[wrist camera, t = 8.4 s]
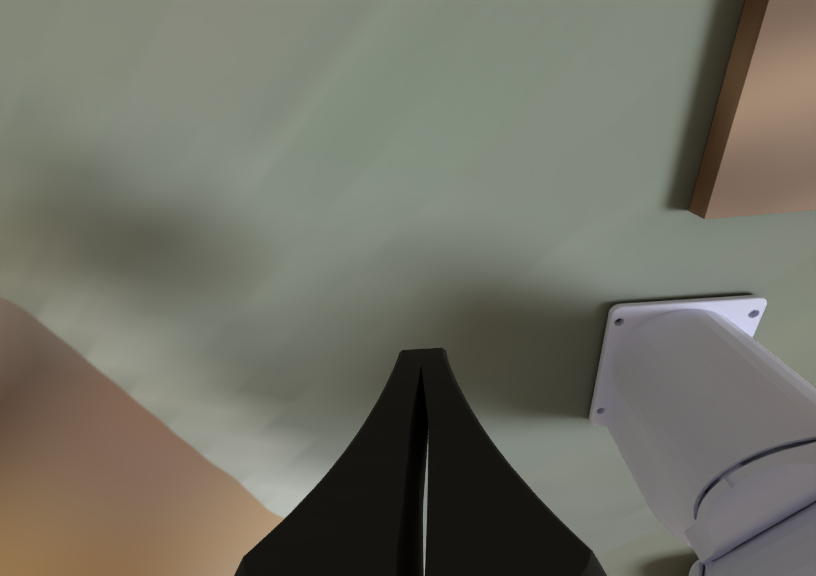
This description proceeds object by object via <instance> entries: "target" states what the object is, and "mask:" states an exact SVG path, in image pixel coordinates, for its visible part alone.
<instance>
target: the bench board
mask: <svg viewBox="0 0 816 576" xmlns="http://www.w3.org/2000/svg"><path fill="white" fill-rule="evenodd" d="M807 210H816V0H745V4H744V7H743V11H742V15H741V18H740V22H739V26H738V29H737V33H736V37H735V41H734V44H733V48H732V52H731V55H730V59H729V63H728V66H727V70H726V74H725V77H724V81H723V85H722V89H721V92H720V96H719V100H718V103H717V107H716V111H715V114H714V118H713V122H712V126H711V129H710V133H709V137H708V140H707V144H706V148H705V151H704V155H703V159H702V162H701V166H700V170H699V174H698V177H697V181H696V185H695V188H694V192H693V196H692V199H691V203H690V207H689V210H688V211H690V212H692V213H694V214H696V215H698V216H700V217H702V218H703V219H711V218H723V217H735V216H747V215H759V214H771V213H783V212H795V211H807Z"/></svg>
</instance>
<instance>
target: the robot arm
mask: <svg viewBox="0 0 816 576" xmlns="http://www.w3.org/2000/svg"><path fill="white" fill-rule="evenodd" d="M766 304H767V301H766V299H764V298H763V297H761V296H759V295H745V296H730V297H715V298H700V299H685V300H670V301H654V302H639V303H624V304H617V305H614V306H613V307H612V308H611V309H610V311H609V314H608V320H607V325H606V330H605V335H604V341H603V346H602V351H601V356H600V362H599V367H598V372H597V378H596V383H595V388H594V393H593V399H592V404H591V409H590V415H589V421H590V423H591V424H592V425H593V426H607V427H608V429H609V431H610V433H611V435H612V437H613V439H614V441H615V443H616V444H617V446H618V448H619V450H620V452H621V454H622V456H623V458H624V460H625V462H626V464H627V466H628V467H629V469H630V471H631V473H632V475H633V477H634V479H635V481H636V483H637V485H638V487H639V489H640V490H641V492H642V494H643V496H644V498H645V500H646V502H647V504H648V506H649V507H650V509H651V510H652V512H653V513H654V515H655V516H656V517H657V519H658V520H659V521H660V522H661V523H662V524H663V525H664V526H665V527H666V528H667V529H668V530H669V531H670V532H671V533H672V534H673V535H675V536H676V537H677V538H678V539H680V540H681V541H682V542H684V543H685V544H686V545H688V546H689V547H691V548H693V550H694V551H695V553H696V555H697V557H698V558H699V560H697V561H696V562H695V563H694V564H693V565H692V567H691V569H690V572H689V576H816V388H815V387H813V386H812V385H811V384H810V383H808V382H807V381H806V380H805V379H803V378H802V377H801V376H800V375H798V374H797V373H796V372H795V371H793V370H792V369H791V368H790V367H788V366H787V365H786V364H785V363H783V362H782V361H781V360H780V359H778V358H777V357H776V356H775V355H773V354H772V353H771V352H770V351H768V350H767V349H766V348H765V347H763V346H762V345H761V344H760V343H758V342H757V341H756V340H755V339H753V338H752V337H753V335H754V333H755V330H756V328H757V326H758V323H759V321H760V319H761V316H762V314H763V312H764V309H765V307H766ZM751 311H752V312H751ZM750 312H751V313H750ZM620 318H621V319H620ZM617 319H620V320H619V321H618V322H615V321H616V320H617ZM599 408H600V409H599ZM428 430H429V433H428ZM427 442H428V501H427V534H426V561H425V576H607V575H606V573H605V571H604V570H603V568H602V566H601V565H600V563H599V561H598V559H597V558H596V556H595V554H594V553H593V551H592V550H591V549H590V548H589V547H588V546H587V545H586V544H584V543H583V542H582V541H581V540H580V539H579V538H578V537H577V536H576V535H575V534H574V533H573V532H572V531H571V530H570V529H569V528H568V527H567V526H566V525H565V524H564V523H563V522H562V521H561V520H560V519H559V518H558V517H557V516H556V515H555V514H554V513H553V512H552V511H551V510H550V509H549V508H548V507H547V506H546V505H545V504H544V503H543V502H542V501H541V500H540V499H539V498H538V497H537V496H536V494H535V493H534V492H533V491H532V490H531V489H530V487H529V486H528V485H527V484H526V483H525V482H524V481H523V479H522V478H521V477H520V476H519V475H518V474H517V472H516V471H515V470H514V469H513V468H512V467H511V465H510V464H509V463H508V462H507V460H506V459H505V458H504V456H503V455H502V454H501V453H500V451H499V450H498V449H497V447H496V446H495V445H494V443H493V442H492V440H491V439H490V438H489V436H488V435H487V433H486V432H485V430H484V429H483V427H482V426H481V424H480V423H479V421H478V419H477V418H476V416H475V415H474V413H473V411H472V410H471V408H470V406H469V404H468V403H467V401H466V399H465V397H464V395H463V393H462V391H461V390H460V388H459V386H458V384H457V381H456V379H455V377H454V375H453V372H452V370H451V367H450V365H449V362H448V358H447V354H446V350H444V349H443V348H432V349H415V350H402V351H401V352H400V353H399V356H398V359H397V361H396V364H395V366H394V369H393V371H392V373H391V375H390V378H389V380H388V382H387V384H386V386H385V388H384V390H383V392H382V393H381V395H380V397H379V399H378V401H377V403H376V405H375V406H374V408H373V409H372V411H371V413H370V414H369V416H368V418H367V419H366V421H365V423H364V424H363V426H362V427H361V429H360V430H359V432H358V433H357V435H356V436H355V438H354V439H353V441H352V442H351V443H350V445H349V446H348V447H347V449H346V450H345V451H344V453H343V454H342V455H341V457H340V458H339V459H338V460H337V462H336V463H335V464H334V465H333V467H332V468H331V469H330V470H329V472H328V473H327V474H326V475H325V476H324V477H323V479H322V480H321V481H320V482H319V483H318V484H317V485H316V487H315V488H314V489H313V490H312V491H311V492H310V493H309V494H308V495H307V496H306V497H305V498H304V499H303V500H302V501H301V502H300V503H299V505H298V506H297V507H296V508H295V509H294V510H293V511H292V512H291V513H290V514H289V515H288V516H287V517H286V518H285V519H284V520H283V521H282V522H281V523H280V524H279V525H278V526H277V527H275V528H274V529H273V530H272V531H271V532H270V533H269V534H268V535H267V536H266V537H265V538H263V539H262V540H261V541H260V542H259V543H258V544H257V545H256V546H255V547H254V548H253V549H252V550H250V551H249V552H248V553H247V554H246V555H245V556H244V557H243V559H242V561H241V563H240V565H239V567H238V569H237V571H236V573H235V575H234V576H424V568H423V498H424V484H425V471H426V457H427Z"/></svg>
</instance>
